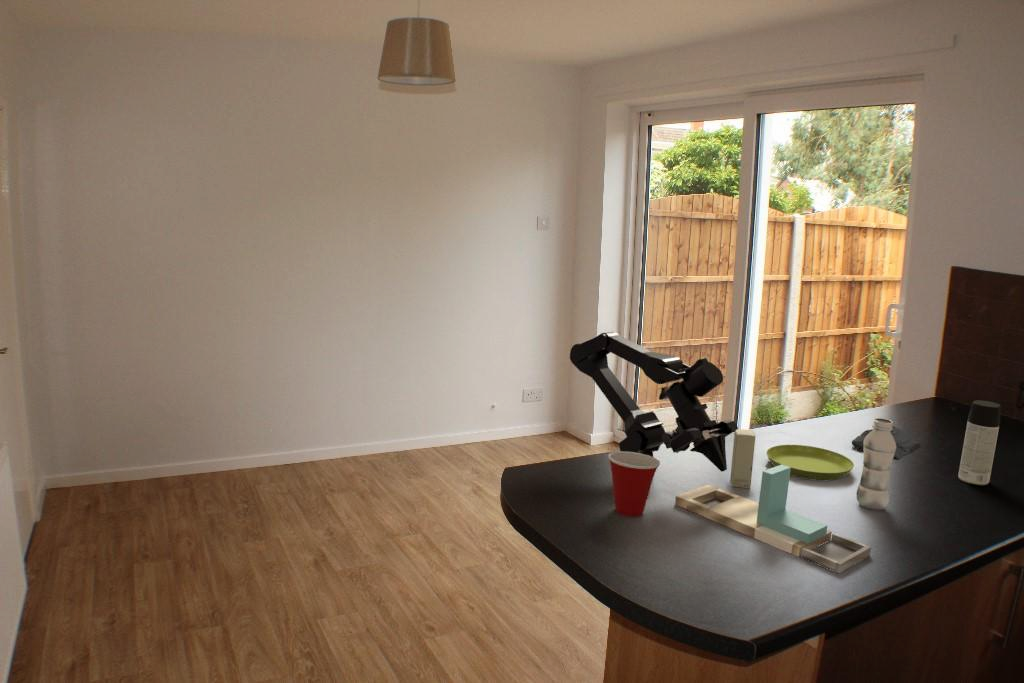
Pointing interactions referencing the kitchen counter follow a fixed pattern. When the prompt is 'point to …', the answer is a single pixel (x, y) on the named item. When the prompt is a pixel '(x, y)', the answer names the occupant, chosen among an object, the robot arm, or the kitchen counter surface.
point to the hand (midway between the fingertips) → (724, 470)
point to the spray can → (980, 442)
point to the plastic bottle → (877, 466)
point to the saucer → (810, 461)
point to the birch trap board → (744, 518)
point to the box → (742, 458)
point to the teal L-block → (784, 508)
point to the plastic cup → (631, 480)
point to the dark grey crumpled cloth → (901, 438)
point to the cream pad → (775, 538)
